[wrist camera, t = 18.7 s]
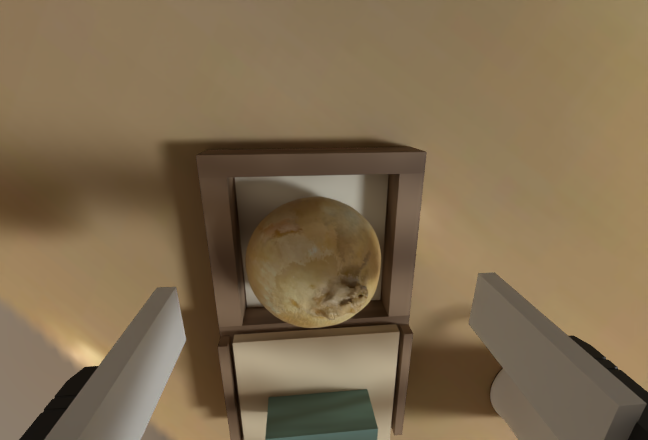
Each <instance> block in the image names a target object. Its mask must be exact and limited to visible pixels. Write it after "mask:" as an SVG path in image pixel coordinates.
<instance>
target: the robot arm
mask: <svg viewBox="0 0 648 440" xmlns="http://www.w3.org/2000/svg"><path fill="white" fill-rule="evenodd" d="M469 325H470V326H471V328H472V329H473V330H474V331H475V333H476V334H477V335H478V337H479V338H480V339H481V340H482V342H483V343H484V344H485V346H486V347H487V348H488V350H489V351H490V352H491V353H492V355H493V356H494V357H495V359H496V360H497V361H498V362H499V364H500V365H501V366H502V368H503V369H504V370H505V371H506V373H507V374H508V375H509V377H510V378H511V379H512V380H513V382H514V383H515V384H516V386H517V387H518V388H519V389H520V391H521V392H522V393H523V395H524V396H525V397H526V398H527V400H528V401H529V402H530V404H531V405H532V406H533V407H534V409H535V410H536V411H537V413H538V414H539V415H540V416H541V418H542V419H543V420H544V422H545V423H546V424H547V426H548V427H549V428H550V429H551V431H552V432H553V433H554V435H555V436H556V437H557V438H558V440H648V392H647V391H646V390H644V389H643V388H642V387H641V386H640V385H638V384H637V383H636V382H635V381H633V380H632V379H631V378H630V377H629V376H627V375H626V374H625V373H624V372H623V371H621V370H618V368H617V366H615V365H614V364H613V363H612V362H611V361H609V360H606V357H604V356H603V355H602V354H601V353H600V352H598V351H597V350H596V349H595V348H594V347H592V346H591V345H589V344H588V343H586V342H584V341H582V340H580V339H579V338H577V337H575V336H568V335H567V334H565V333H564V332H563V331H562V330H561V329H560V328H558V327H557V326H556V325H555V324H554V323H553V322H551V321H550V320H549V319H548V318H547V317H546V316H544V315H543V314H542V313H541V312H540V311H539V310H538V309H536V308H535V307H534V306H533V305H532V304H531V303H529V302H528V301H527V300H526V299H525V298H524V297H522V296H521V295H520V294H519V293H518V292H517V291H515V290H514V289H513V288H512V287H511V286H510V285H509V284H507V283H506V282H505V281H504V280H503V279H502V278H500V277H499V276H498V275H497V274H496V273H478V278H477V283H476V288H475V293H474V298H473V303H472V309H471V314H470V319H469ZM185 342H186V336H185V331H184V326H183V321H182V315H181V310H180V305H179V300H178V294H177V289H176V287H160V288H156V290H155V291H154V292H153V294H152V295H151V296H150V298H149V299H148V300H147V302H146V303H145V304H144V306H143V307H142V308H141V310H140V311H139V313H138V314H137V315H136V317H135V318H134V319H133V321H132V322H131V323H130V325H129V326H128V327H127V329H126V330H125V331H124V333H123V334H122V335H121V337H120V338H119V339H118V341H117V342H116V344H115V345H114V346H113V348H112V349H111V350H110V352H109V353H108V354H107V356H106V357H105V358H104V360H103V361H102V362H101V364H100V365H99V366H93V367H84V368H83V369H82V370H80V371H79V372H78V373H77V374H75V375H74V376H73V377H71V378H70V379H69V380H68V381H67V382H66V383H65V384H64V385H63V387H62V388H61V389H60V390H59V392H58V393H57V394H56V395H55V398H54V399H52V400H51V402H50V403H49V404H48V405H47V406H46V408H45V409H44V412H43V413H41V414H40V415H39V416H38V417H37V419H36V420H35V421H34V422H33V424H32V425H31V426H30V427H29V428H28V430H27V431H26V432H25V433H24V435H23V436H22V437H21V438H20V439H19V440H141V438H142V436H143V433H144V431H145V429H146V427H147V425H148V422H149V420H150V418H151V416H152V414H153V411H154V409H155V407H156V405H157V403H158V401H159V398H160V396H161V394H162V392H163V390H164V387H165V385H166V383H167V381H168V379H169V377H170V374H171V372H172V370H173V368H174V366H175V363H176V361H177V359H178V357H179V355H180V352H181V350H182V348H183V346H184V344H185Z"/></svg>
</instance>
